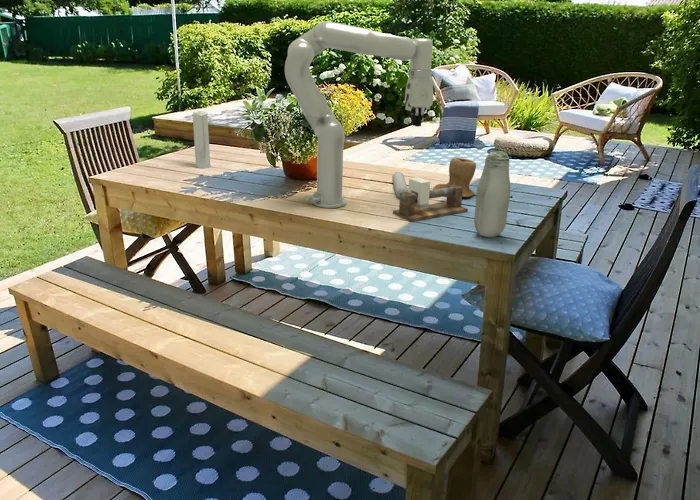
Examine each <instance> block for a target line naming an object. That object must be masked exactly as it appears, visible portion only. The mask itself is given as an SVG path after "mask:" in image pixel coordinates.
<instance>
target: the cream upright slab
mask: <svg viewBox="0 0 700 500" xmlns="http://www.w3.org/2000/svg"><path fill="white" fill-rule="evenodd" d="M407 188H408V192H409V193H416V192H417V193H418V199H417V201H415V207H416V208H418V209H423V208H428V206H429V204H430V199H429V193H430V190H431V181H430V180H426V179H424V178H422V177H419V176H417V177H409V179H408V187H407Z"/></svg>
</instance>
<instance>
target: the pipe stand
mask: <svg viewBox="0 0 700 500" xmlns="http://www.w3.org/2000/svg"><path fill="white" fill-rule="evenodd" d="M462 193H463V188H462V187H460V186H456V185H448V188H442V189H436V190H433V189H430V193H429V200H430V199H436V198H437V199H438V198H443V197H446V201H442V202H441V201H440V202H436V203H429V206H428V208H423V209H418V208H416V207H415V201H417V199H418V193H417V192H416V193H409V192H402V193H400V198H399V206H398V209H395V210H392V214H393V215H395V216H397V217H399V218H401V219H403V220H406V221H408V222H410V223H415V222H419V221H425V220H431V219H436V218H440V217H441V218H442V217H446V216H447V217H448V216H452V215H457V214H464V213H467V212H468V208H467V207H464V206H462V202H463V201H462V200H463V197H462Z"/></svg>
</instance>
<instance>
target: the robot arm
mask: <svg viewBox="0 0 700 500" xmlns="http://www.w3.org/2000/svg"><path fill="white" fill-rule="evenodd" d="M433 45H434V43H433V40H432V39H430V38H423V37H421V38H420V37H416V38H408V37H404V36H398V35H394V34H393V35H392V34H388V33H383V32H378V31H375V30H373V29H370V28H366V27H361V26H360V27H359V26H355V25H349V24H344V23H340V22H334V21H329V20H328V21H327V20H325V21H321V22H319V23H318V24H316V25H314V27H313V28H311V29H309V30H308V31H306V32H305V33H303V34H302V35H300V36H299V37H297V38H296V39H295V40H293V41H292V42H291V43H290V44H289V46H288V48H287V56H286V60H285V62H284V75H285V79H286V83H287V84H288V87H290V90H291V91H292V94H293V95H294V97H295V99H296V100H297V102H298V103H299V104H298V105H299V108H300V111H301V112H302V114H303V115H304V117H305V119H306V121H307V122H308V123H309V126H310V127H311V129H312V130H313V132H314V134H315V135H316V136H317V148H316V149H317V150H316V152H317V153H316V163H317V164H316V191H314V193H313V194H312V195H305V197H304V199H305V201H306V202H309V201H311V202H312V204H313V205H314V206H316V207H320V208H324V209H325V208H326V209H335V208H336V209H337V208H341V207H343V206H346V205H347V200H346V199H345V198H344V197H343V180H344V179H343V178H344V177H343V173H344V170H343V169H344V168H343V167H344V148H345V147H344V146H345V139H346V138H345V130H344V127H343V125H342V123H341V122H340V121H338V119H337V118H336V116H335V115H334V113H333V111H332V110H331V108H330V107H329V104H328V102H327V98H326V97H325V96H324V94H322V92H321V90H320V89H319V87H318V85H317V84H316V82H315V80H314V77H313V76H312V74H311V72H310V70H311V69H310V66H311V63H312V62H313V60H314V57H316V56H317V55H319V54H320V53H322V52H323V51H325V50H326V49H327V48H328V49H333V50H339V51H345V52H350V53H355V54H359V55H365V56H366V55H367V56H375V57H382V58H388V59H393V60H399V61H403V62H406V61H407V62H408V61H409V71H407V76H409V78H408V79H407V82H406V86H405V92H404V105H405V108H404V110H405V111H409V112H410V113H411V116H412V126H414V127H422V120H423V118H422V117H423V116H424V114H425V112H426V111H427V110H430V109H431V106H433V104H434V84H433V83H434V81H433V79H432V78H431V73H432V70H431V69H432V61H433V60H432V59H433V47H434V46H433Z"/></svg>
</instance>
